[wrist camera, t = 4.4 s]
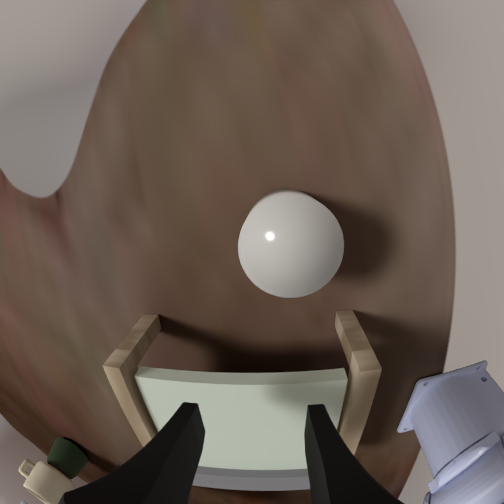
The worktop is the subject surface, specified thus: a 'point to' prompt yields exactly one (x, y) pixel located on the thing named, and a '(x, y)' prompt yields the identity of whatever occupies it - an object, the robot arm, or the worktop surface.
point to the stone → (290, 244)
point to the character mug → (54, 472)
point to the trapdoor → (247, 421)
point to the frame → (354, 404)
